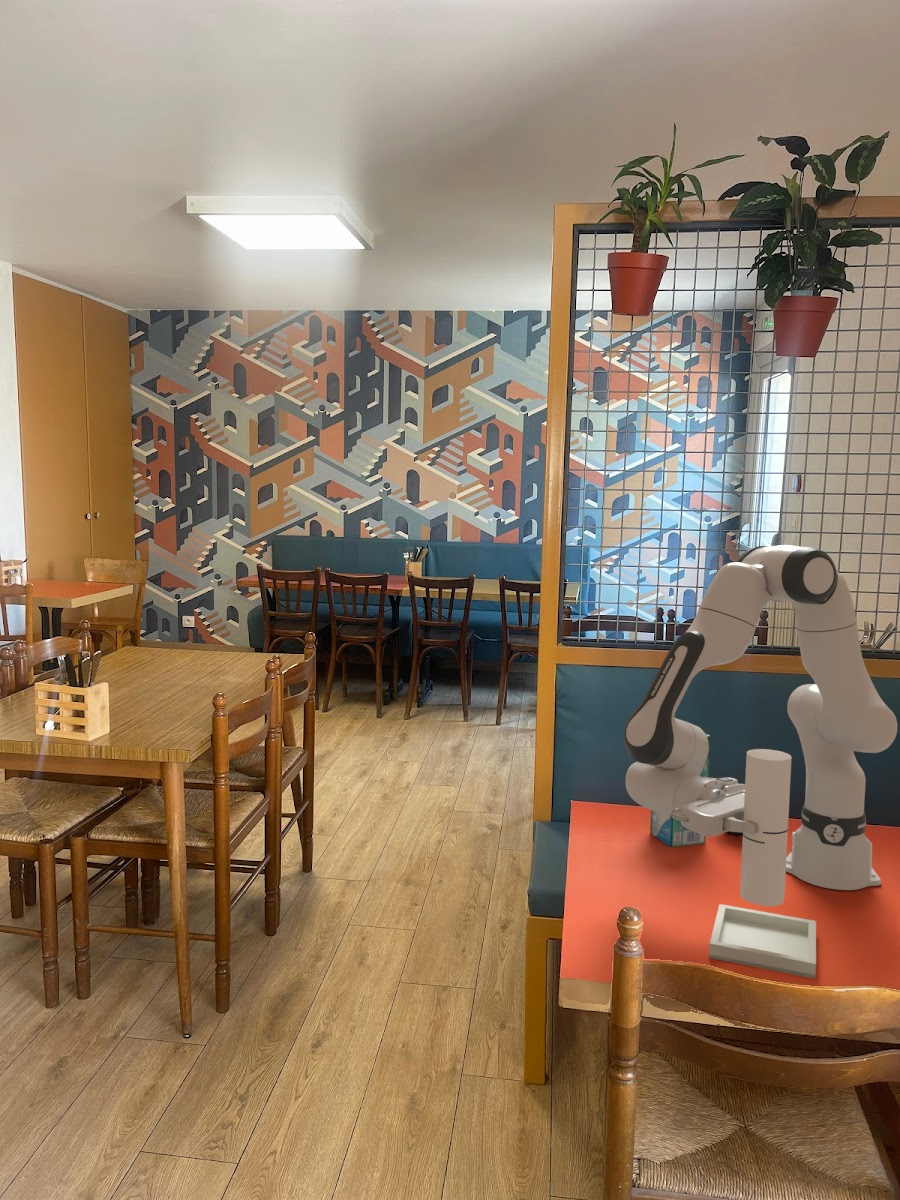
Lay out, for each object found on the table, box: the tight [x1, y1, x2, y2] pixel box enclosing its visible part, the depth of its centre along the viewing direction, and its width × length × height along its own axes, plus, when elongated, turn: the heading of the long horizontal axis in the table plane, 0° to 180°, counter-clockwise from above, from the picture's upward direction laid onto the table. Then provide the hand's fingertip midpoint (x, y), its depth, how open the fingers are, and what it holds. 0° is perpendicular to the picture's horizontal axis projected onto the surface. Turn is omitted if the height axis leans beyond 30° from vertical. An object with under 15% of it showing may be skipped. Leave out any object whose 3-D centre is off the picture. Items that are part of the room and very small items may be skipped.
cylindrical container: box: [739, 748, 793, 907], centre depth 150 cm, size 7×7×25 cm
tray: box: [708, 903, 817, 980], centre depth 151 cm, size 16×16×2 cm
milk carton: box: [649, 733, 711, 848], centre depth 200 cm, size 9×9×25 cm
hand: (770, 824), depth 149 cm, fingers closed on cylindrical container, 7 cm apart
